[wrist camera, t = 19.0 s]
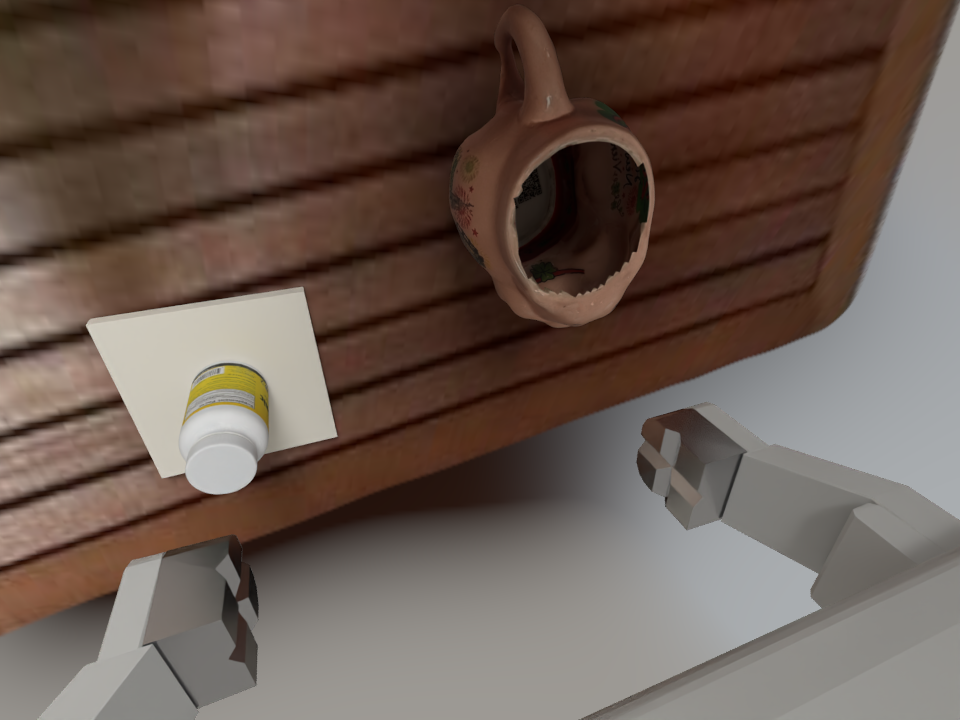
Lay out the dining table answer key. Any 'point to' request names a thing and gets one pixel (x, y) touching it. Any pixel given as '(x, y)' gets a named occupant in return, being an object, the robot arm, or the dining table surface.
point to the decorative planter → (551, 189)
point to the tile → (208, 339)
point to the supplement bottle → (225, 427)
